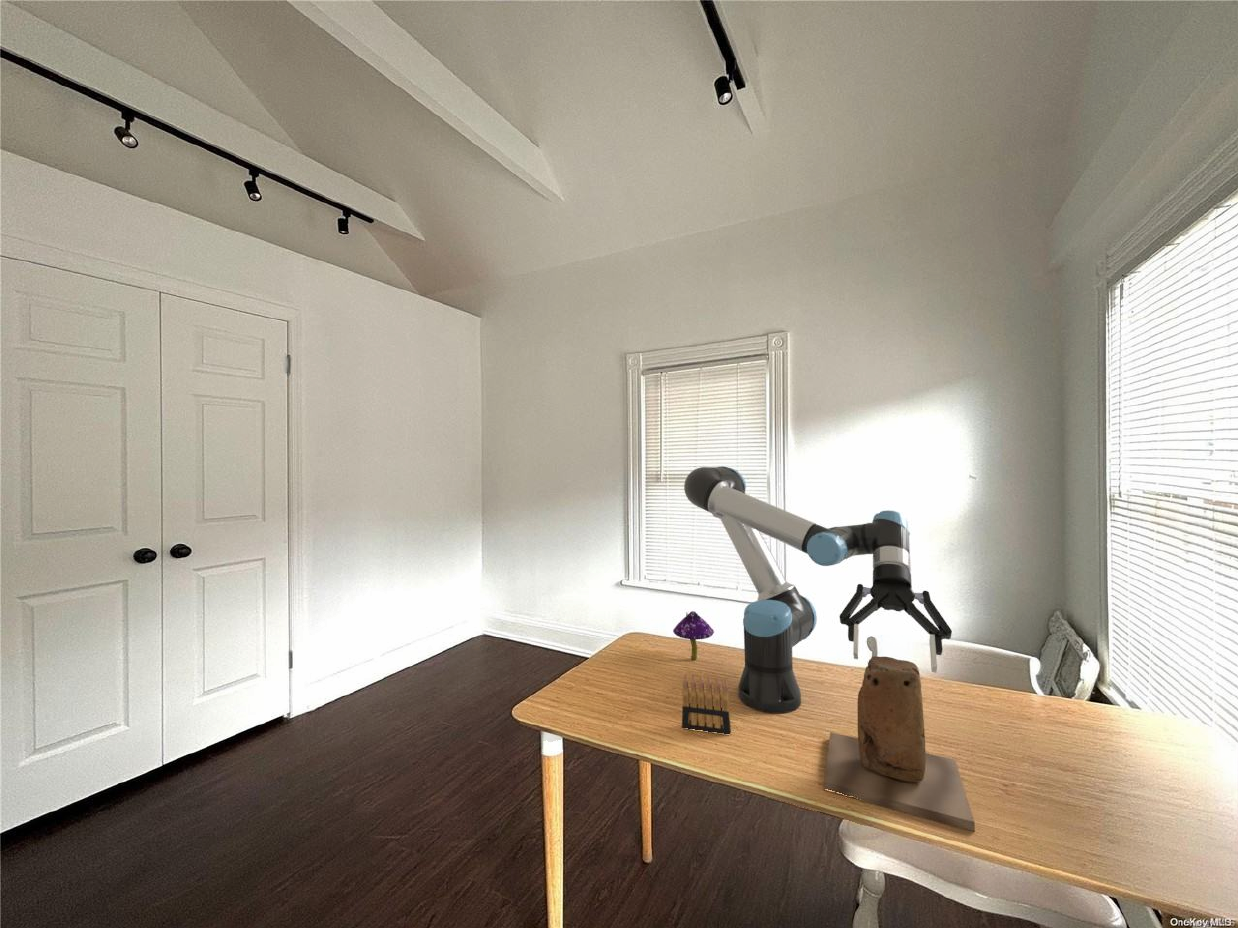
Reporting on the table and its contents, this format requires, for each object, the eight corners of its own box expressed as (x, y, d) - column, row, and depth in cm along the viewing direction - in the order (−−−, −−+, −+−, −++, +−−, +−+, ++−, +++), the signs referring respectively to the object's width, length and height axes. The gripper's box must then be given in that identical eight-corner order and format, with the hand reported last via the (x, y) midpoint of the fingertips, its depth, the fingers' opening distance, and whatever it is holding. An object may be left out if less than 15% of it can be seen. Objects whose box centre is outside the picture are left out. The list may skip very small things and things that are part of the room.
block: (922, 765, 88) (919, 659, 89) (928, 790, 82) (924, 675, 82) (858, 751, 93) (855, 650, 94) (858, 773, 87) (855, 664, 87)
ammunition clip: (681, 728, 106) (680, 675, 106) (683, 724, 107) (682, 671, 108) (730, 735, 103) (729, 680, 103) (730, 731, 104) (729, 676, 105)
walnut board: (823, 790, 85) (823, 781, 85) (830, 738, 100) (830, 731, 100) (974, 831, 74) (974, 821, 74) (955, 767, 90) (955, 759, 90)
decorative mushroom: (670, 653, 150) (669, 606, 150) (708, 651, 151) (707, 604, 151) (677, 669, 137) (676, 618, 137) (719, 667, 138) (718, 616, 138)
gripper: (957, 586, 103) (968, 683, 90) (832, 574, 115) (827, 658, 102) (960, 567, 98) (972, 667, 85) (830, 557, 110) (824, 643, 98)
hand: (893, 662), depth 94 cm, fingers open, 13 cm apart
